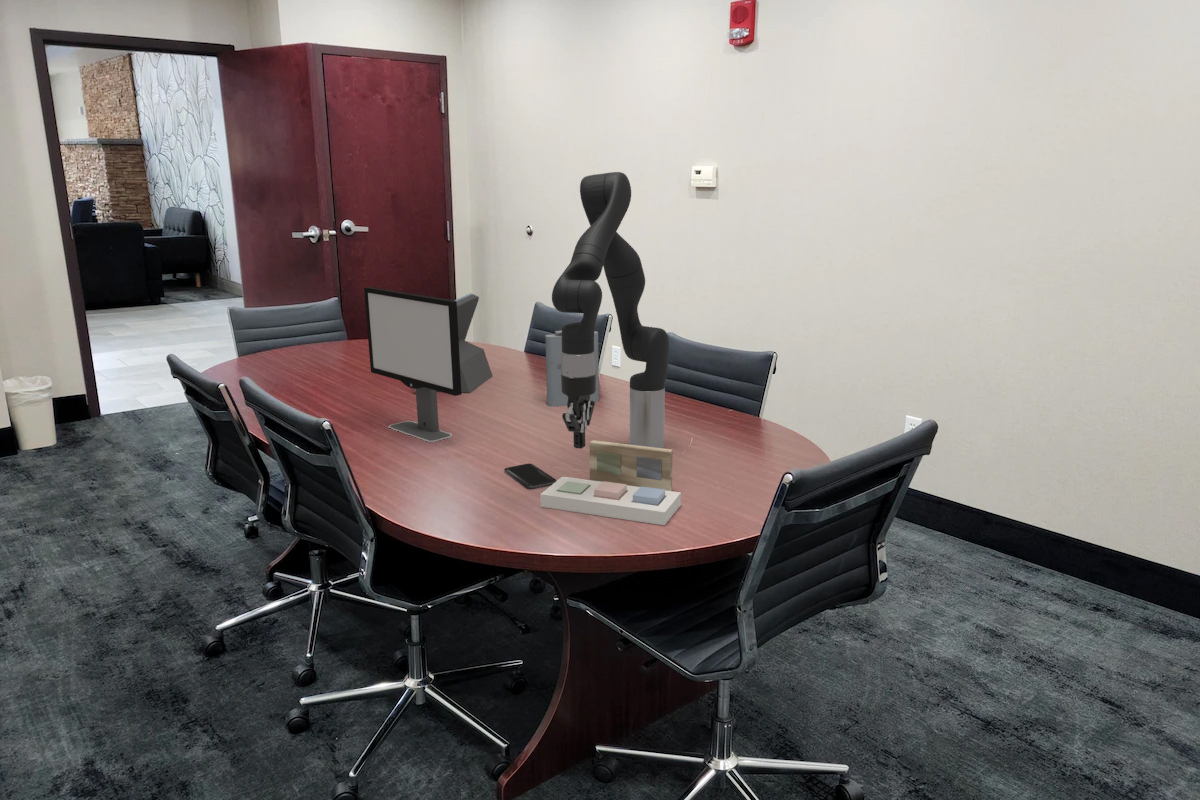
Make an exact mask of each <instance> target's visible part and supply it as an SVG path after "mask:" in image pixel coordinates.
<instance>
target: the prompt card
mask: <svg viewBox="0 0 1200 800" xmlns="http://www.w3.org/2000/svg"><path fill="white" fill-rule="evenodd" d="M588 447H589V480H592V481H600V482H603V481H605V482H613V483H620V484H627V485H629V486H636V487H641V486H642V487H649V488H657V489H664V490H666V491H673V460H674V459H673V451H674V450H673V449H669V448H664V449H663V448H654V447H646V446H637V445H630V444H629V443H628V444H626V443H619V442H611V441H610V442H609V441H602V440H591V441H589V446H588Z"/></svg>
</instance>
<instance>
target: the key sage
mask: <svg viewBox="0 0 1200 800" xmlns="http://www.w3.org/2000/svg"><path fill="white" fill-rule="evenodd" d="M589 487H590V484H584V483H577V482H570V481H567V482H566V483H565V484H563V485H562V486H561V487H560V488H559V489H557V491H558V492H565V493H572V494H579V495H581V494H582V493H583V492H585V491H586V490H587V489H588V488H589Z"/></svg>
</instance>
